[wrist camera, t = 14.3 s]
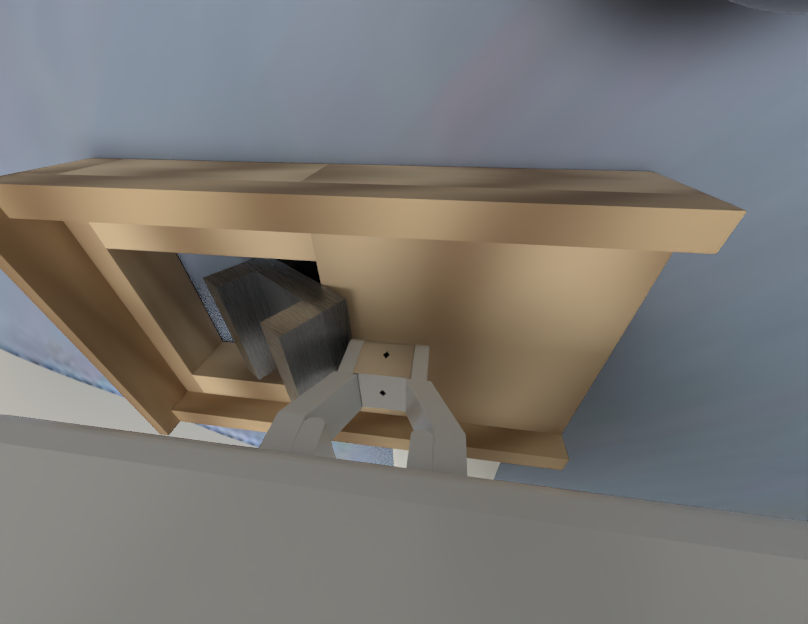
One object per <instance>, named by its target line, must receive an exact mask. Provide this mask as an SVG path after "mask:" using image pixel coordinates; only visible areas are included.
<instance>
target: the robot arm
mask: <svg viewBox="0 0 808 624" xmlns="http://www.w3.org/2000/svg"><path fill="white" fill-rule="evenodd" d="M429 348H430V347H429V345H415V344H402V343H390V342H389V343H388V342H380V341H371V340H359V339H351V340H350V342H349V344H348V346H347V349H346V351H345V354H344V356H343V359H342V361H341V364H340V366H339V369H338V371H337V372H335V371H333V372H332V373H330V374H329V375H328V376H326V377H325V378H324V379H322V380H321V381H320V382H318V383H317V384H315V385H314V386H313V387H311V388H310V389H309V390H307V391H306V392H305V393H303V394H302V395H300V396H299V397H298V398H296V399H295V400H294V401H292V402H291V403H290V404H288V405H287V406H285V407H284V408H283V409H281V410H280V411H279V412H278V413H277V415H276V417H275V419H274V421H273V422H272V424H271V426H270V428H269V430H268V432H267V434H266V435H265V437H264V439H263V441H262V443H261V445H260V447H259V448H252V447H244V446H236V445H229V444H221V443H214V442H207V441H199V440H192V439H184V438H177V437H169V436H162V435H154V434H147V433H139V432H132V431H124V430H116V429H109V428H102V427H94V426H87V425H79V424H72V423H64V422H56V421H49V420H41V419H34V418H27V417H19V416H12V415H0V624H808V521H803V520H795V519H787V518H779V517H772V516H764V515H757V514H749V513H741V512H734V511H726V510H719V509H711V508H704V507H696V506H688V505H681V504H673V503H666V502H658V501H651V500H643V499H635V498H628V497H620V496H613V495H605V494H598V493H590V492H582V491H575V490H567V489H560V488H552V487H545V486H537V485H530V484H522V483H515V482H507V481H500V480H492V479H485V478H477V477H470V476H467V454H466V434H465V433H464V431H463V430H462V428H461V427H460V425H459V424H458V422H457V420H456V419H455V417H454V416H453V414H452V413H451V411H450V410H449V408H448V407H447V405H446V404H445V402H444V401H443V399H442V398H441V396H440V394H439V393H438V391H437V390H436V388H435V387H434V385H433V384H432V382H431V381H427V375H428V362H429ZM362 407H370V408H382V409H390V410H397V411H404V412H406V415H407V417H408V419H409V421H410V424H411V426H412V428H413V430H414V431H413V432H412V433H411V437H410V444H409V452H408V459H407V467H406V468H402V467H395V466H387V465H380V464H372V463H365V462H357V461H350V460H342V459H336V457H335V453H334V450H333V447H332V443H331V441H332V440H333V439H334V438H335V436H336V435H337V434H338V433H339V432H340V431H341V430H342V429H343V428H344V427H345V426H346V425H347V424H348V423H349V422H350V421H351V419H352V418H353V417H354V416H355V415H356V414H357V413H358V412H359V411H360V410H361V409H362Z"/></svg>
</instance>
